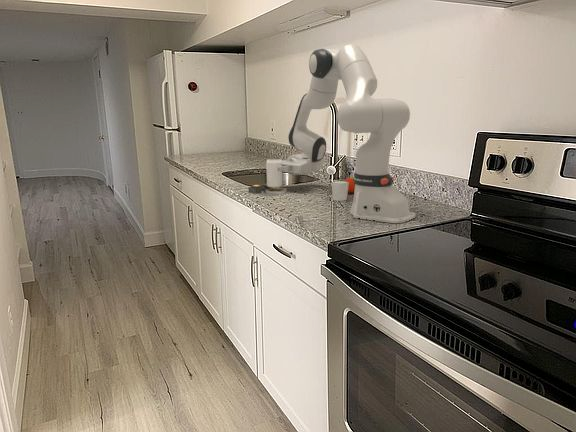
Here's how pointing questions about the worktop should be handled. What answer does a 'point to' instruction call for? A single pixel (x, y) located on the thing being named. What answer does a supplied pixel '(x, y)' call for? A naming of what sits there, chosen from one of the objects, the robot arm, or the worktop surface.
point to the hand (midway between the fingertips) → (273, 168)
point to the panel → (262, 191)
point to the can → (274, 172)
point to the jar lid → (275, 191)
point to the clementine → (350, 184)
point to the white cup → (339, 190)
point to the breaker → (256, 186)
